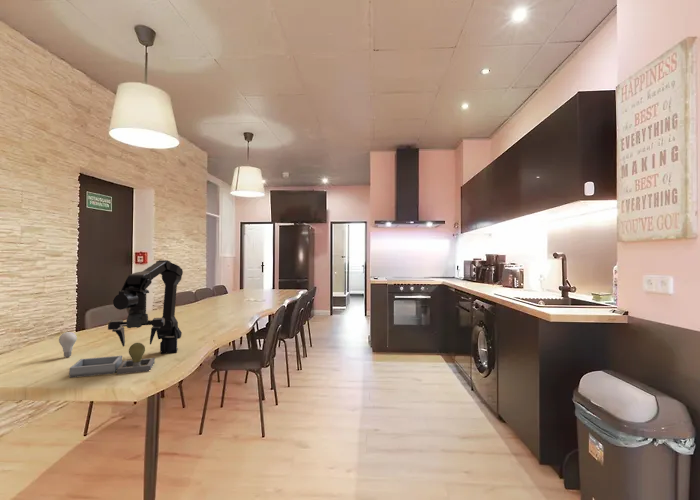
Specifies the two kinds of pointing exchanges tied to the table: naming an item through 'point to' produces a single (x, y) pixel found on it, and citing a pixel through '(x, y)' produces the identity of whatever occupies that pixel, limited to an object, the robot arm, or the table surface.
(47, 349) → the table surface
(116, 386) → the table surface
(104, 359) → the parts tray
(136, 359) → the light bulb
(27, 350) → the table surface
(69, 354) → the lightbulb
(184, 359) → the table surface
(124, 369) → the socket collar
